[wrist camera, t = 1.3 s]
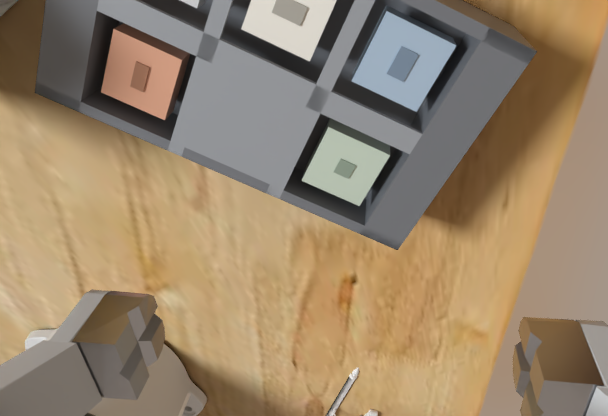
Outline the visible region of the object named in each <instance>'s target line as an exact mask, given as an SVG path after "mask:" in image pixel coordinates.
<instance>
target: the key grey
mask: <svg viewBox="0 0 608 416" xmlns="http://www.w3.org/2000/svg"><path fill="white" fill-rule="evenodd" d="M180 1H182V2H184V3H187V4H189V5H191V6H193V7H195V8H198V7H200V6H201V5H203V4H204V3H205V2H206V0H180Z"/></svg>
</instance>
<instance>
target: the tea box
mask: <svg viewBox="0 0 608 416" xmlns="http://www.w3.org/2000/svg"><path fill="white" fill-rule="evenodd" d="M17 1H18V0H0V16H2V15H3V14H4V13H5V12H6V11H7V10H8V9H9V8H10V7H12V6H13V5H14V4H15V3H16V2H17Z"/></svg>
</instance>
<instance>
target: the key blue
mask: <svg viewBox="0 0 608 416" xmlns="http://www.w3.org/2000/svg"><path fill="white" fill-rule="evenodd" d="M456 46H457V45H456V43H455V41H454V39H453V38H452V37H450V36H448V35H446V34H444V33H442V32H440V31H438V30H436V29H434V28H432V27H430V26H428V25H426V24H424V23H422V22H420V21H418V20H416V19H414V18H412V17H410V16H408V15H405V14H403V13H401V12H399V11H397V10H395V9H393V8H391V7H389V6H387V5H386V7H385V9H384V11H383V13H382V15H381V17H380V19H379V21H378V23H377V25H376V27H375V29H374V31H373V33H372V35H371V37H370V39H369V41H368V43H367V45H366V47H365V49H364V51H363V53H362V55H361V57H360V59H359V61H358V63H357V65H356V67H355V69H354V71H353V74H352V82H354V83H356V84H358V85H360V86H363V87H365V88H367V89H369V90H371V91H373V92H375V93H377V94H380V95H382V96H384V97H386V98H388V99H390V100H392V101H394V102H396V103H399V104H401V105H403V106H405V107H407V108H409V109H411V110H413V111H416V112H417V110H418V109H419V107H420V105H421V104H422V102H423V100H424V99H425V97H426V95H427V94H428V92H429V90H430V89H431V87H432V85H433V84H434V82H435V80H436V79H437V77H438V75H439V74H440V72H441V70H442V69H443V67H444V65H445V64H446V62H447V60H448V59H449V57H450V56H451V54H452V52H453V51H454V49H455V47H456Z"/></svg>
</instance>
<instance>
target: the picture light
mask: <svg viewBox="0 0 608 416" xmlns="http://www.w3.org/2000/svg"><path fill="white" fill-rule="evenodd" d="M358 374H359V368H357V369H355V370H354V371H352V374H351V373H350V375H349V378H348V379H347V381H346V383H345V384H344V386H343V388H342V389H341V391H340V393H339V394H338V396H337V398H336V399H335V401H334V403H333V404H332V406H331V408H330V409H329V411H328V413H327V415H326V416H336V415H335V412H336V410H337V408H338V407H339V405H340V404H341V402H342V400H343V399H344V397H345V395H346V394H347V392H348V390H349V389H350V387H351V386H352V384H353V382H354V381H355V380H356V378H357V377H358V376H357V375H358ZM377 414H378V411H375V410H372V409H370V410H369V412H367V413H366V414H365V415H364V416H377ZM360 416H361V415H360Z"/></svg>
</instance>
